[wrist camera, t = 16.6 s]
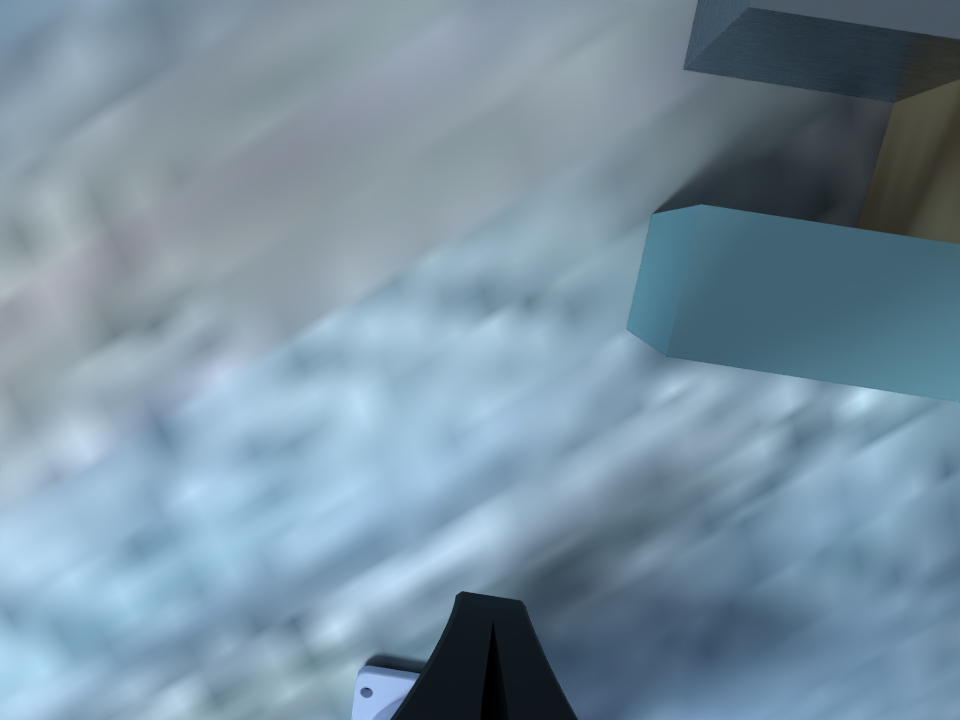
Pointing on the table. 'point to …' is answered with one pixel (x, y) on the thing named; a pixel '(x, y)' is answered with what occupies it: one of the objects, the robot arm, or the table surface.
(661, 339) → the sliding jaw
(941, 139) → the oak block
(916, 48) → the vise
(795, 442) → the table surface
